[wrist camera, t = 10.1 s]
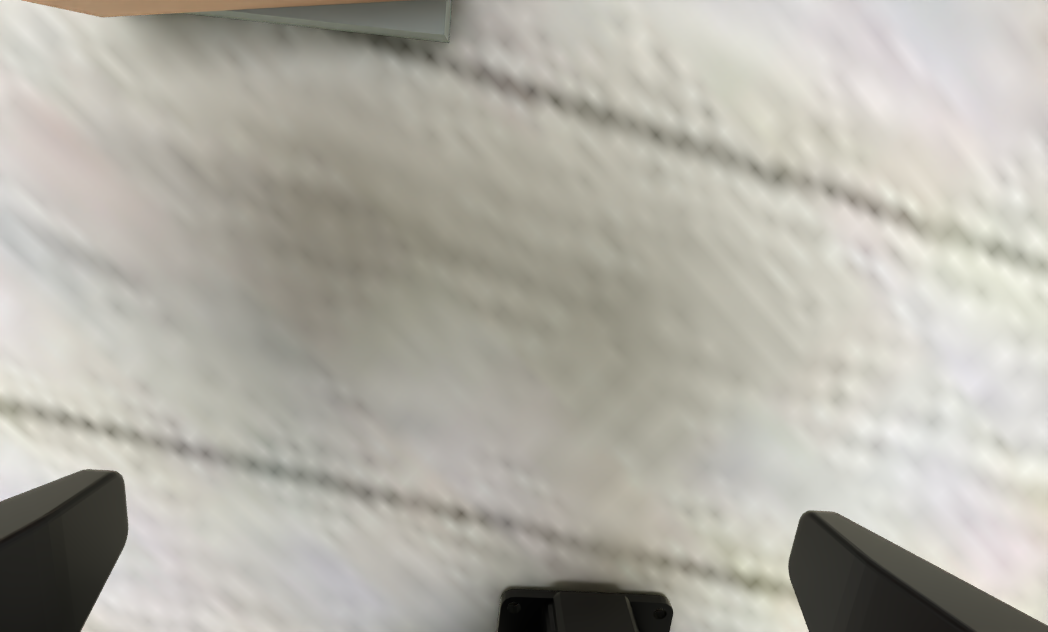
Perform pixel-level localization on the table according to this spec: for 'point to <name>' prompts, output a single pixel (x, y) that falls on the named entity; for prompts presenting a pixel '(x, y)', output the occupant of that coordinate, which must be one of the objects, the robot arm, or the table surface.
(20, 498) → the robot arm
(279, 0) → the tower top slab
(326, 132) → the table surface
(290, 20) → the tower base slab
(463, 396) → the table surface
